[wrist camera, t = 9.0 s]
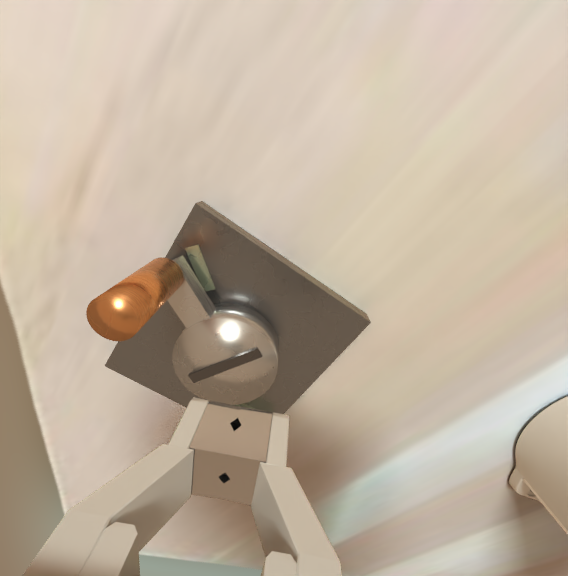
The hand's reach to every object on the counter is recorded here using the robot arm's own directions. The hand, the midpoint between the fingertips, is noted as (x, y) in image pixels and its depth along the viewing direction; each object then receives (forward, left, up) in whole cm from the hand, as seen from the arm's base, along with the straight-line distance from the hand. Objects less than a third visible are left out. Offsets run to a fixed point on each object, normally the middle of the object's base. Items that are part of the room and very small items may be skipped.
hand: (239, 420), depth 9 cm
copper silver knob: (+1, +6, -14) cm, 15 cm away
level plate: (-1, +7, -15) cm, 17 cm away
